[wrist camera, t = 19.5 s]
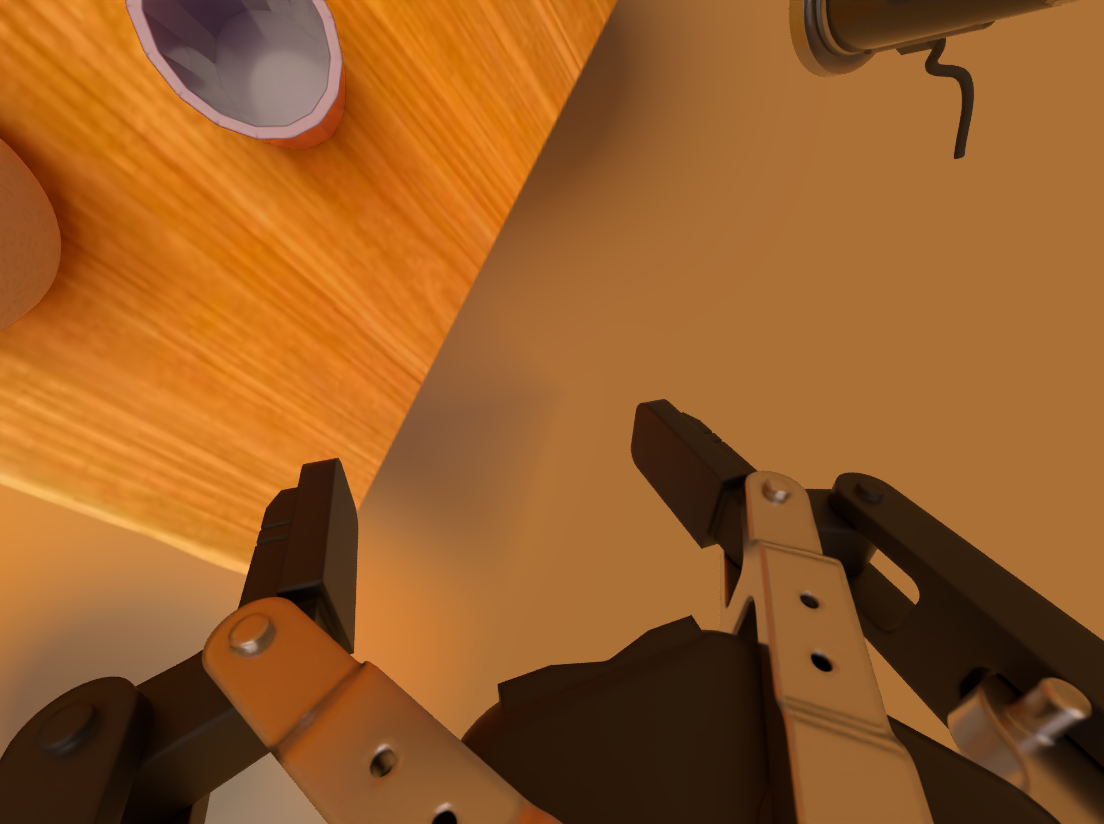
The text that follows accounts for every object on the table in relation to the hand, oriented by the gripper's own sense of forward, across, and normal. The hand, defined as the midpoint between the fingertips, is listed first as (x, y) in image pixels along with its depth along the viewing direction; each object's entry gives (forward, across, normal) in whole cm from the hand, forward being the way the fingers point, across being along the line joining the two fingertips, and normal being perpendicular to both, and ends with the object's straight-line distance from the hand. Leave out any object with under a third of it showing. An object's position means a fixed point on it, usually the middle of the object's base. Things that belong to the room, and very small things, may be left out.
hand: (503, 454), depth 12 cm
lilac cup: (+24, +6, -10) cm, 26 cm away
